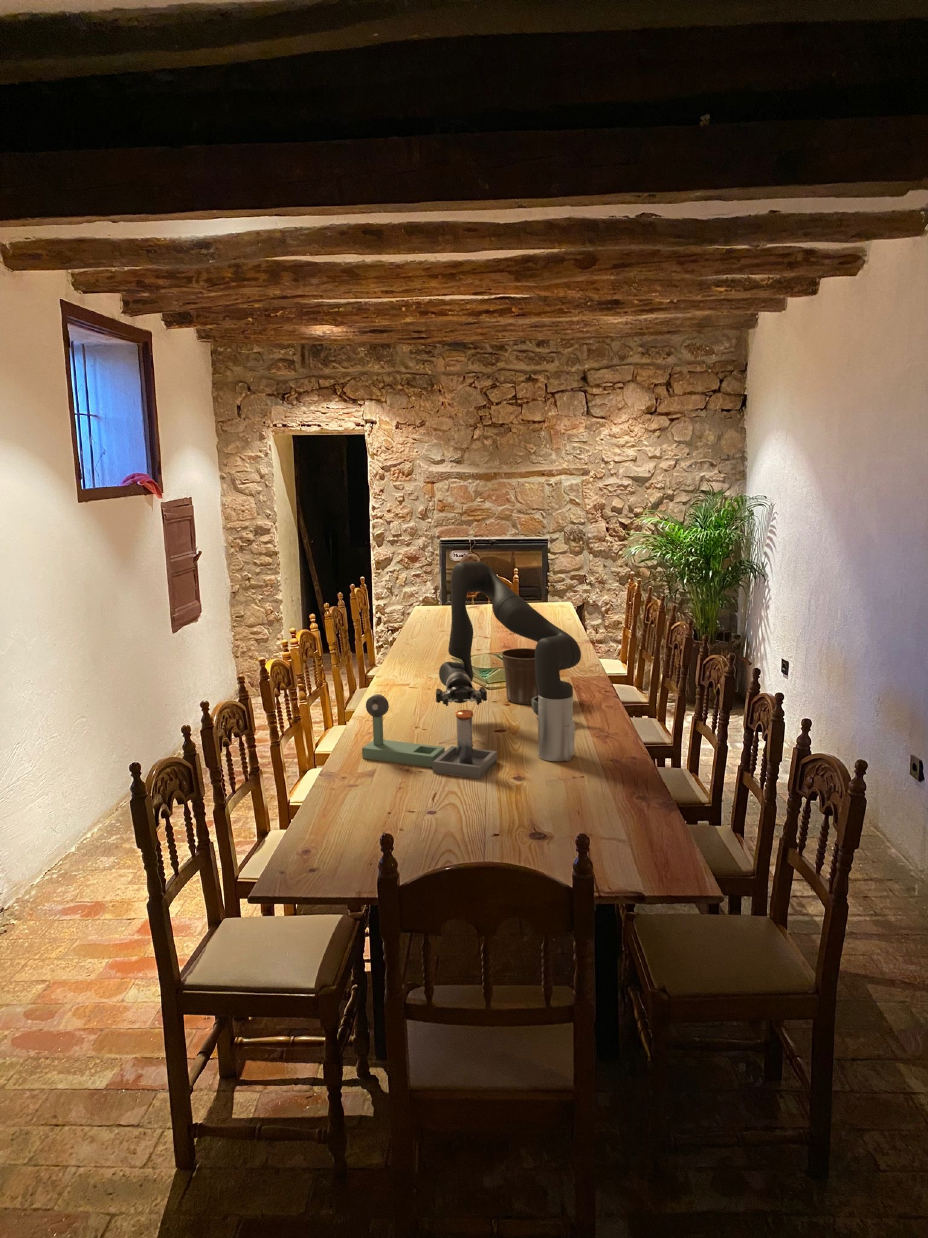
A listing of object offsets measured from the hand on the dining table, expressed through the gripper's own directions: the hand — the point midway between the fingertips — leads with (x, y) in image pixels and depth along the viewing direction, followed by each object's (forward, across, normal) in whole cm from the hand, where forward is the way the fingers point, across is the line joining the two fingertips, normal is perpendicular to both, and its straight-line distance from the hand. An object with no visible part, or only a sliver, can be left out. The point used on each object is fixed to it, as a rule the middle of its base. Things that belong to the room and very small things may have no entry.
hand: (462, 701), depth 232 cm
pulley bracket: (+2, -17, +15) cm, 22 cm away
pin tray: (+11, 0, +15) cm, 18 cm away
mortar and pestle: (-27, +28, +15) cm, 42 cm away
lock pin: (+11, 0, +14) cm, 17 cm away
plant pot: (-51, +24, +14) cm, 58 cm away
